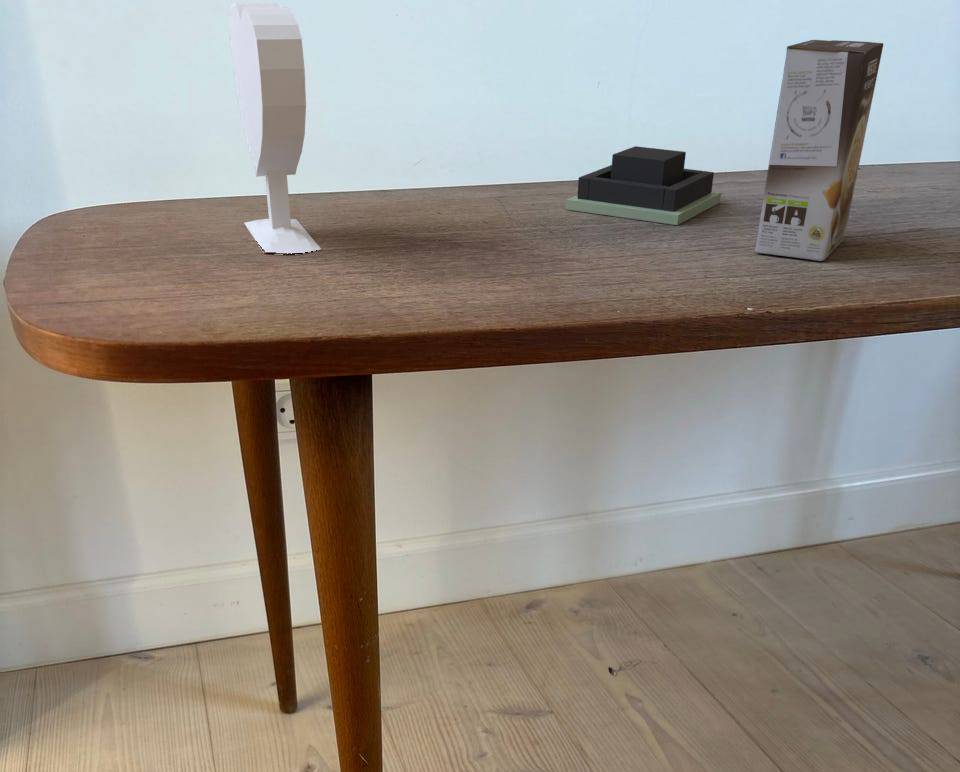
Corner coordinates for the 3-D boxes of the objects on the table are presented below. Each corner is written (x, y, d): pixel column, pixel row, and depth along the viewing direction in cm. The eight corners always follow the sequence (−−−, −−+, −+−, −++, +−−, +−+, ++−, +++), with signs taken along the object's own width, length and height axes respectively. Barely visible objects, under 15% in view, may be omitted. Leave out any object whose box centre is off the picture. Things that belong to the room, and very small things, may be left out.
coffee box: (826, 263, 91) (867, 50, 81) (752, 253, 93) (784, 45, 84) (845, 239, 97) (885, 41, 88) (776, 231, 100) (808, 37, 91)
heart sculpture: (326, 255, 91) (310, 12, 80) (268, 259, 89) (244, 12, 79) (292, 214, 103) (275, -1, 92) (240, 218, 101) (217, -1, 91)
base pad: (720, 202, 110) (724, 171, 108) (677, 225, 101) (681, 192, 99) (615, 188, 115) (617, 159, 113) (565, 209, 106) (567, 177, 104)
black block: (681, 194, 108) (686, 151, 106) (660, 204, 104) (665, 160, 102) (631, 187, 111) (635, 146, 108) (608, 197, 107) (612, 154, 104)
